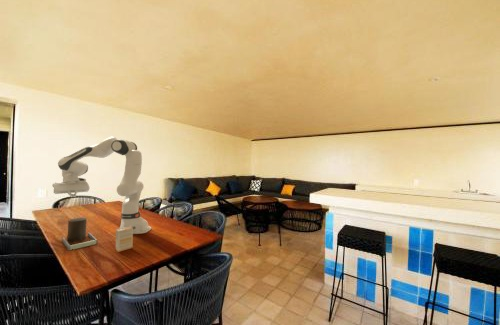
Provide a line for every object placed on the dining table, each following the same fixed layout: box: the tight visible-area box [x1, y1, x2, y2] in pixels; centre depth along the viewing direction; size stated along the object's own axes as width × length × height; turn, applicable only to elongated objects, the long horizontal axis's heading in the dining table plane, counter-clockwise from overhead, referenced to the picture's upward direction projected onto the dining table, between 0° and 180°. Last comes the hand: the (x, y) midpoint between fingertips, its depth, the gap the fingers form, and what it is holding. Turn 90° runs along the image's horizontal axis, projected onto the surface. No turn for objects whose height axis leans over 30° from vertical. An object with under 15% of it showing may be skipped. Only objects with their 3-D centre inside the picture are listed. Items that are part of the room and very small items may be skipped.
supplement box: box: [115, 226, 134, 253], centre depth 126 cm, size 8×5×13 cm, turn 141°
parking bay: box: [61, 231, 98, 251], centre depth 133 cm, size 20×14×2 cm
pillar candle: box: [66, 217, 87, 243], centre depth 138 cm, size 10×10×15 cm
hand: (73, 196), depth 148 cm, fingers closed
